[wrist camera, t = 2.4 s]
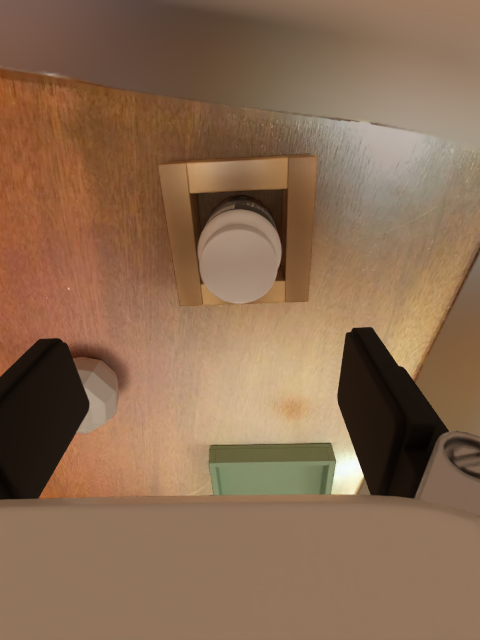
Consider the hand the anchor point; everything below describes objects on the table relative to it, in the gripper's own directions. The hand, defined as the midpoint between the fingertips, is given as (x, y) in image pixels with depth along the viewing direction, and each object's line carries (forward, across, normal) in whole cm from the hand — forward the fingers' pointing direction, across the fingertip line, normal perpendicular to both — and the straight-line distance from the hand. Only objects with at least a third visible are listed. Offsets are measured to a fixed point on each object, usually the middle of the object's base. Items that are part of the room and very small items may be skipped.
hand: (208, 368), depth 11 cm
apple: (+19, +16, +15) cm, 29 cm away
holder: (+19, -1, 0) cm, 19 cm away
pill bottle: (+19, -1, 0) cm, 19 cm away
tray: (+19, -3, +36) cm, 41 cm away
